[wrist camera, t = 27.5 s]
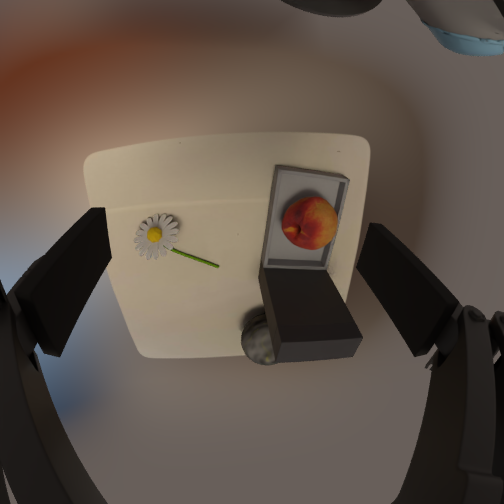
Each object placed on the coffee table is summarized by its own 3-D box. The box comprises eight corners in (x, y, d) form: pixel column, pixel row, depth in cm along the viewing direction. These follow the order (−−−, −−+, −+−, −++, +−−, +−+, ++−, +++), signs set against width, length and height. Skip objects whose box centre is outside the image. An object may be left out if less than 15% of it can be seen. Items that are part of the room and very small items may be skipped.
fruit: (292, 181, 40) (306, 198, 33) (335, 199, 42) (356, 219, 35) (271, 226, 43) (281, 251, 36) (314, 240, 45) (330, 266, 39)
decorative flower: (222, 283, 40) (126, 248, 36) (211, 288, 46) (127, 258, 41) (236, 236, 43) (145, 201, 38) (224, 246, 48) (144, 216, 44)
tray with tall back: (274, 165, 39) (314, 211, 23) (342, 174, 41) (411, 223, 24) (258, 278, 49) (275, 363, 33) (316, 279, 51) (352, 357, 34)
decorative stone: (293, 305, 53) (305, 342, 45) (281, 339, 58) (289, 375, 49) (243, 301, 51) (248, 340, 43) (236, 337, 56) (239, 374, 48)
